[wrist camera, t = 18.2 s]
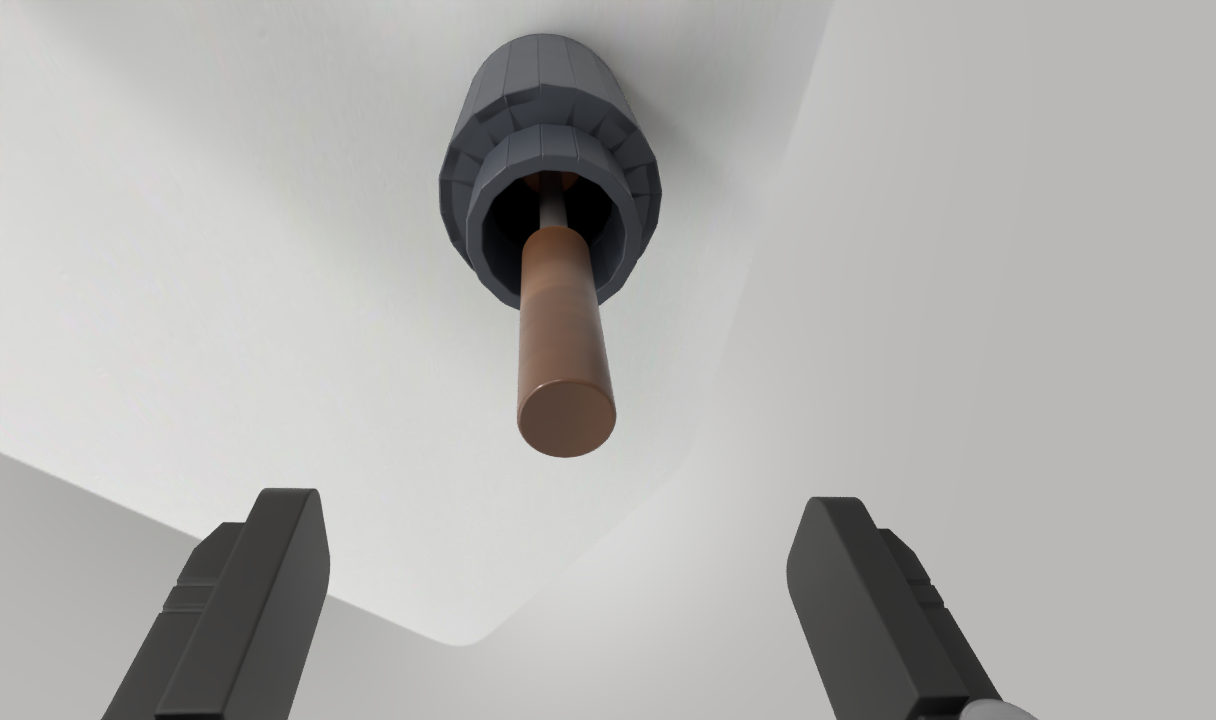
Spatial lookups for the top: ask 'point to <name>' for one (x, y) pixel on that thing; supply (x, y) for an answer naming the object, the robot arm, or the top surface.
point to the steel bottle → (547, 164)
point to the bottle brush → (561, 334)
